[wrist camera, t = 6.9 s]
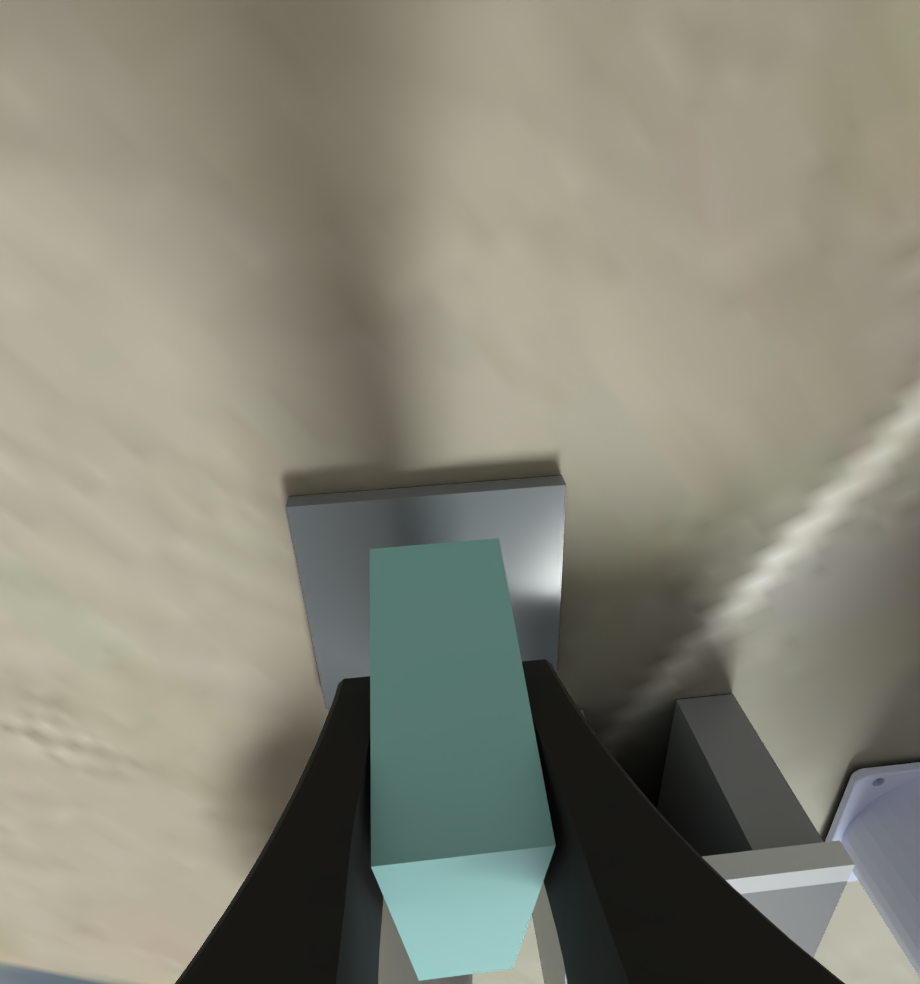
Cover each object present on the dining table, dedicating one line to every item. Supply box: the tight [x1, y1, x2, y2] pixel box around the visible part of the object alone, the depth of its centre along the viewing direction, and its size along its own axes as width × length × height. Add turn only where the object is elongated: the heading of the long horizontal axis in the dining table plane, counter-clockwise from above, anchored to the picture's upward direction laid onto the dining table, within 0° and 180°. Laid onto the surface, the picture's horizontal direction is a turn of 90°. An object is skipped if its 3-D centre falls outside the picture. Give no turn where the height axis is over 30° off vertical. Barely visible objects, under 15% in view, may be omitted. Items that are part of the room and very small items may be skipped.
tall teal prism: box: [370, 538, 556, 981], centre depth 14 cm, size 2×11×5 cm, turn 2°
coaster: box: [286, 475, 566, 709], centre depth 20 cm, size 8×8×1 cm
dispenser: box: [532, 694, 855, 984], centre depth 23 cm, size 8×10×7 cm
